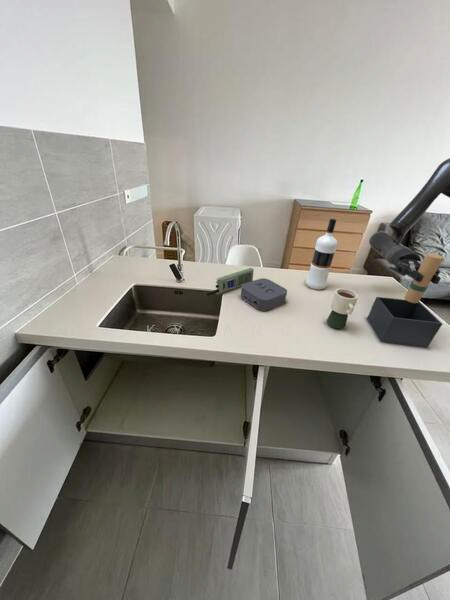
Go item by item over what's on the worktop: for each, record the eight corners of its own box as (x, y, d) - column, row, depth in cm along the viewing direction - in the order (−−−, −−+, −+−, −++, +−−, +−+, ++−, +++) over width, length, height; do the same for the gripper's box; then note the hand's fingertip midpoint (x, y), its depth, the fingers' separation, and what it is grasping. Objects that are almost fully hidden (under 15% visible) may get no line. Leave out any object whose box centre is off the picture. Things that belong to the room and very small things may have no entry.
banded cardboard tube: (414, 297, 79) (438, 253, 71) (422, 304, 76) (447, 259, 68) (401, 295, 80) (422, 252, 72) (407, 302, 76) (431, 257, 68)
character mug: (352, 334, 82) (366, 302, 75) (332, 334, 81) (344, 302, 75) (338, 316, 91) (348, 285, 84) (319, 316, 91) (329, 285, 84)
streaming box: (288, 302, 98) (290, 291, 95) (262, 313, 90) (263, 301, 88) (263, 287, 108) (264, 277, 105) (237, 296, 100) (238, 285, 97)
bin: (407, 323, 89) (419, 301, 84) (427, 347, 78) (442, 323, 73) (366, 318, 91) (376, 296, 86) (381, 341, 79) (393, 318, 74)
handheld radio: (253, 282, 111) (209, 298, 97) (248, 280, 113) (205, 295, 99) (254, 269, 108) (209, 283, 94) (249, 267, 110) (204, 281, 96)
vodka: (300, 281, 114) (316, 216, 99) (317, 280, 117) (335, 215, 101) (312, 291, 107) (331, 222, 91) (330, 289, 109) (351, 221, 94)
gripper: (384, 246, 84) (409, 265, 69) (428, 250, 83) (463, 271, 68) (376, 266, 88) (398, 288, 73) (418, 270, 87) (448, 294, 72)
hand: (429, 280), depth 71 cm, fingers closed on banded cardboard tube, 4 cm apart
